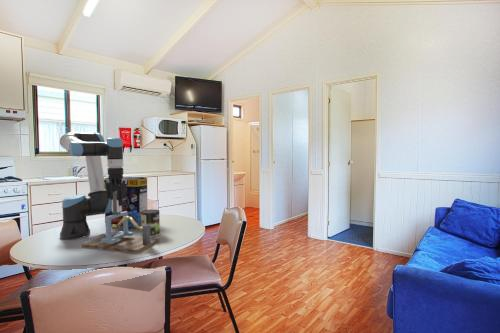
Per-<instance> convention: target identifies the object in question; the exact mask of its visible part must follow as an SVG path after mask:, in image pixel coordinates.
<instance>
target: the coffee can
mask: <svg viewBox="0 0 500 333" xmlns="http://www.w3.org/2000/svg"><path fill="white" fill-rule="evenodd" d="M160 211H161V210H160V209H147V210H144V211H142V212H141V222H142V224H141V226H142V225H145V224H150V238H155V237H157V236H160V234H161V233H160V230H161V229H160V227H161V226H160V224H161V223H160ZM141 237H143V234H142V233H141Z"/></svg>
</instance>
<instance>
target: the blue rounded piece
mask: <svg viewBox="0 0 500 333" xmlns="http://www.w3.org/2000/svg"><path fill="white" fill-rule="evenodd" d="M128 216H130V217H132V218H133V220H134V221H135V222H136V223H137V224H138V226H139V227H140V226H141V225H140V222H141V217H140V216H141V214H140V213H137V211H136V210H134V211H133V212H132V211H130V212H129V215H128ZM128 229H133V230H135V229H137V228H136V227H135V226H134V225H133V224H132V223H131V221H130V220H128Z"/></svg>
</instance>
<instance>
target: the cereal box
mask: <svg viewBox="0 0 500 333" xmlns="http://www.w3.org/2000/svg"><path fill="white" fill-rule="evenodd" d="M123 178H124V179H125V180H128V182H127V188H126V198H124V199H123V200H122V201H123V205H122V211H121V212H124V211H128V215H129V212H130V211H132V212H133V211H134V210H136V211H137V213H140V214H141V212H142V211H144V210H148V178H147V177H144V176H142V177H141V176H140V177H139V176H123ZM107 179H108V177H106V178H105V177H104V180H107ZM105 188H106V185H105ZM116 191H117V189H116ZM110 215H113V212H112V211H111V212H109V213H105V214H104V218H105V217H107V216H110ZM140 217H141V216H140ZM122 218H123V216H120V217H117V218H114V219H111V224H113V225H117V224H118V223H119V222H120V221H121V220H122ZM104 223H105V224H106V220H105V219H104ZM121 225H123V223H122V224H121ZM139 226H142V222H140V225H139Z"/></svg>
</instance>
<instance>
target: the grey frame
mask: <svg viewBox="0 0 500 333" xmlns="http://www.w3.org/2000/svg"><path fill="white" fill-rule="evenodd" d="M117 199H118V196H117V191H115V192H113V215H110V216H107V217H105V216H104V221H105V220H106V223H105V235H106V238H102V239H101V242H106V243H115V242H117V239H119V238H121V237H124V236H134V231H129V227H128V225H129V224H128V219H126V220H125V221H124V222H123V224H122V230H121V231H118V232H117V234H115V235H116V236H113V237H111V235H112V227H111V219H114V218H117V217H120V216H123V217H124V216H128V211H124V212H117Z"/></svg>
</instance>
